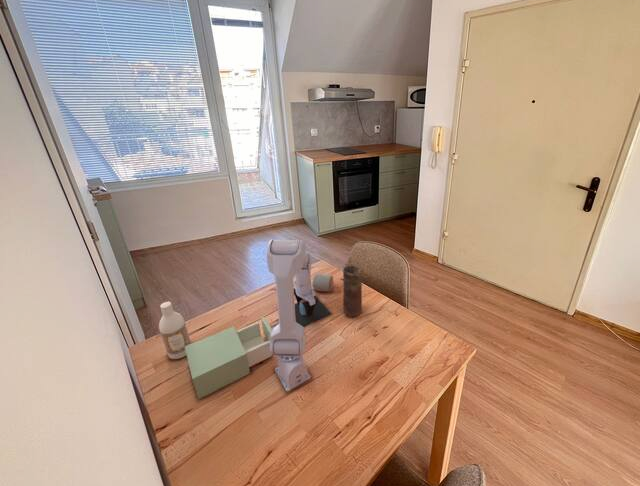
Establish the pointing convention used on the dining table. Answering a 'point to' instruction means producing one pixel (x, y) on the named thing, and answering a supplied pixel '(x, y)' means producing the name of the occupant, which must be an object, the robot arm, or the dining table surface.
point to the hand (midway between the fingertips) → (305, 309)
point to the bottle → (302, 307)
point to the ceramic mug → (322, 282)
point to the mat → (317, 314)
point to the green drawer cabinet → (216, 361)
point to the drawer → (256, 341)
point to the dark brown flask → (352, 290)
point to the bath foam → (173, 331)
